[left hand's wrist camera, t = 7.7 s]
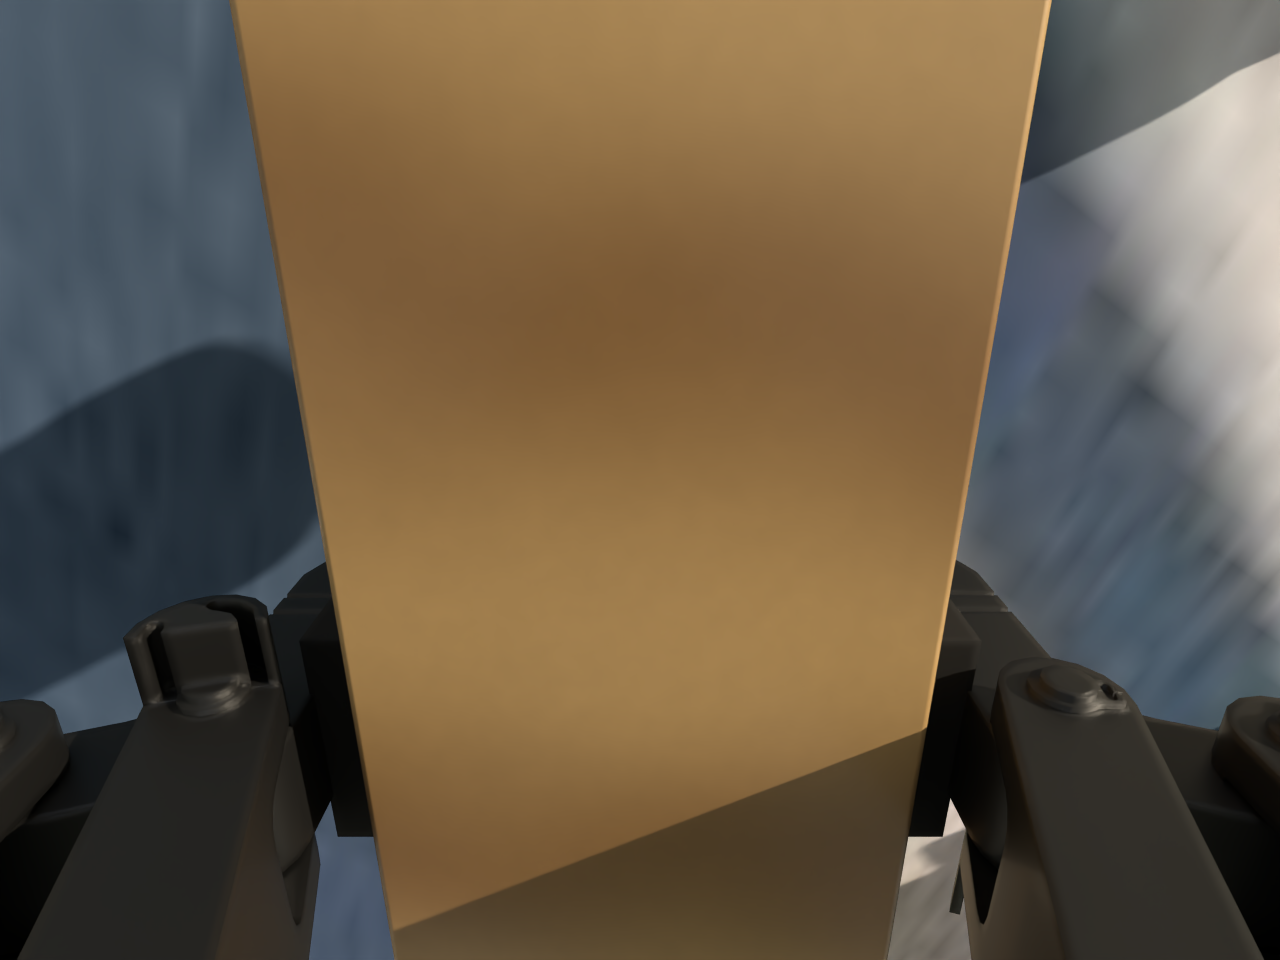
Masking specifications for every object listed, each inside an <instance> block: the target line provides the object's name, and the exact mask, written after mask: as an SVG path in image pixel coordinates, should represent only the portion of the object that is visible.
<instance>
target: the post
mask: <svg viewBox="0 0 1280 960" xmlns="http://www.w3.org/2000/svg"><path fill="white" fill-rule="evenodd" d="M1051 1H1052V0H229V2H230V7H231V13H232V19H233V25H234V31H235V36H236V42H237V48H238V54H239V60H240V65H241V71H242V77H243V83H244V89H245V94H246V100H247V106H248V112H249V118H250V123H251V129H252V135H253V141H254V147H255V152H256V158H257V164H258V170H259V176H260V181H261V187H262V193H263V199H264V205H265V210H266V216H267V222H268V228H269V234H270V239H271V245H272V251H273V257H274V263H275V268H276V274H277V280H278V286H279V292H280V297H281V303H282V309H283V315H284V321H285V326H286V332H287V338H288V344H289V350H290V355H291V361H292V367H293V373H294V379H295V384H296V390H297V396H298V402H299V408H300V413H301V419H302V425H303V431H304V437H305V442H306V448H307V454H308V460H309V466H310V471H311V477H312V483H313V489H314V495H315V500H316V506H317V512H318V518H319V524H320V529H321V535H322V541H323V547H324V553H325V558H326V564H327V570H328V576H329V582H330V587H331V593H332V599H333V605H334V610H335V616H336V622H337V628H338V634H339V639H340V645H341V651H342V657H343V663H344V668H345V674H346V680H347V686H348V692H349V697H350V703H351V709H352V715H353V721H354V726H355V732H356V738H357V744H358V750H359V755H360V761H361V767H362V773H363V779H364V784H365V790H366V796H367V802H368V808H369V813H370V819H371V825H372V831H373V837H374V842H375V848H376V854H377V860H378V866H379V871H380V877H381V883H382V889H383V895H384V900H385V906H386V912H387V918H388V924H389V929H390V935H391V941H392V947H393V953H394V958H395V960H887V957H888V951H889V946H890V940H891V934H892V928H893V922H894V916H895V911H896V905H897V899H898V893H899V887H900V881H901V876H902V870H903V864H904V858H905V852H906V846H907V841H908V835H909V829H910V823H911V817H912V811H913V806H914V800H915V794H916V788H917V782H918V776H919V771H920V765H921V759H922V753H923V747H924V741H925V736H926V730H927V724H928V718H929V712H930V706H931V701H932V695H933V689H934V683H935V677H936V671H937V666H938V660H939V654H940V648H941V642H942V636H943V631H944V625H945V619H946V613H947V607H948V601H949V596H950V590H951V584H952V578H953V572H954V566H955V561H956V555H957V549H958V543H959V537H960V531H961V526H962V520H963V514H964V508H965V502H966V497H967V491H968V485H969V479H970V473H971V467H972V462H973V456H974V450H975V444H976V438H977V432H978V427H979V421H980V415H981V409H982V403H983V397H984V392H985V386H986V380H987V374H988V368H989V362H990V357H991V351H992V345H993V339H994V333H995V327H996V322H997V316H998V310H999V304H1000V298H1001V292H1002V287H1003V281H1004V275H1005V269H1006V263H1007V257H1008V252H1009V246H1010V240H1011V234H1012V228H1013V222H1014V217H1015V211H1016V205H1017V199H1018V193H1019V187H1020V182H1021V176H1022V170H1023V164H1024V158H1025V152H1026V147H1027V141H1028V135H1029V129H1030V123H1031V117H1032V112H1033V106H1034V100H1035V94H1036V88H1037V82H1038V77H1039V71H1040V65H1041V59H1042V53H1043V47H1044V42H1045V36H1046V30H1047V24H1048V18H1049V12H1050V7H1051Z"/></svg>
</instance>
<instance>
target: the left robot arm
mask: <svg viewBox="0 0 1280 960" xmlns="http://www.w3.org/2000/svg"><path fill="white" fill-rule="evenodd" d="M273 612H274V613H273V615H269V616H268V611H267V606H266V605H264V604H263V603H261V602H260V601H259V600H257V599H256V598H252V597H246V596H241V595H216V596H208V597H203V598H199V599H194V600H189V601H185V602H182V603H179V604H176V605H174V606H171V607H168V608H166V609H163V610H160V611H158V612H156V613H155V614H153V615H151V616H149V617H148V618H146V619H144V620H143V621H141V622H139V623H137V624H136V625H135V626H134V627H133V628H132V629H131V630H130V631H129V632H128V633H127V634H126V635H125V636H124V638H123V640H124V643H125V646H126V650H127V653H128V656H129V660H130V663H131V666H132V670H133V673H134V676H135V680H136V683H137V686H138V690H139V693H140V696H141V700H142V703H143V708H142V710H141V712H140V714H139V716H138V718H137V719H135V720H131V721H127V722H122V723H117V724H112V725H107V726H102V727H97V728H92V729H87V730H82V731H77V732H72V733H67V734H63V732H62V729H61V726H60V723H59V720H58V718H57V715H56V712H55V710H54V709H53V708H51V707H50V706H49V705H47V704H46V703H44V702H43V701H34V700H25V699H19V700H11V701H4V702H0V960H309V953H310V945H311V937H312V928H313V920H314V912H315V904H316V896H317V887H318V879H319V871H320V858H319V852H318V846H317V841H316V837H315V831H316V829H317V827H318V825H319V823H320V821H321V819H322V817H323V815H324V813H325V811H326V809H327V807H328V805H329V803H330V801H331V805H332V810H333V815H334V820H335V825H336V830H337V835H338V837H373V831H372V825H371V819H370V813H369V808H368V802H367V796H366V790H365V784H364V779H363V773H362V767H361V761H360V755H359V750H358V744H357V738H356V732H355V726H354V721H353V715H352V709H351V703H350V697H349V692H348V686H347V680H346V674H345V668H344V663H343V657H342V651H341V645H340V639H339V634H338V628H337V622H336V616H335V610H334V605H333V599H332V593H331V587H330V582H329V576H328V570H327V564H326V562H325V563H323V564H321V565H319V566H318V567H316V568H314V569H313V570H311V571H309V572H308V573H306V574H304V575H303V576H302V578H301V579H300V580H299V581H298V582H297V583H296V585H295V586H294V587H293V588H292V589H291V590H290V592H289V593H288V594H287V598H284V599H283V600H282V601H281V602H280V603H279V604H278V606H277V607H276V608H275V609H274V610H273ZM950 798H951V800H952V802H953V804H954V806H955V808H956V810H957V812H958V814H959V816H960V818H961V820H962V822H963V824H964V826H965V828H966V832H965V837H964V841H963V846H962V851H961V855H960V860H959V865H958V869H957V874H956V879H955V884H954V888H953V893H952V898H951V905H950V911H949V912H951V913H955V914H959V915H960V911H961V907H962V902H963V898H964V902H965V910H966V918H967V926H968V934H969V943H970V951H971V959H972V960H1280V698H1273V697H1266V696H1254V697H1245V698H1238V699H1237V700H1236V701H1234V702H1233V703H1231V704H1230V705H1228V706H1227V708H1226V711H1225V714H1224V717H1223V719H1222V722H1221V725H1220V728H1219V731H1216V730H1211V729H1206V728H1200V727H1195V726H1190V725H1185V724H1180V723H1175V722H1170V721H1165V720H1160V719H1155V718H1151V717H1147V716H1143V715H1142V714H1141V712H1140V710H1139V708H1138V706H1137V705H1136V703H1135V702H1134V701H1133V700H1132V698H1131V697H1130V696H1129V695H1128V693H1127V692H1126V691H1125V690H1124V689H1123V688H1121V687H1120V686H1119V685H1117V684H1116V683H1114V682H1113V681H1111V680H1110V679H1108V678H1107V677H1105V676H1104V675H1102V674H1100V673H1097V672H1095V671H1093V670H1090V669H1088V668H1086V667H1083V666H1081V665H1079V664H1075V663H1071V662H1067V661H1062V660H1058V659H1054V658H1051V657H1050V656H1049V655H1048V654H1047V652H1046V651H1045V650H1044V649H1043V648H1042V647H1041V646H1040V644H1039V643H1038V642H1037V641H1036V640H1035V639H1034V637H1033V636H1032V635H1031V634H1030V633H1029V632H1028V631H1027V629H1026V628H1025V627H1024V626H1023V625H1022V624H1021V622H1020V621H1019V620H1018V619H1017V618H1016V617H1015V616H1014V614H1013V613H1012V612H1008V607H1007V606H1006V605H1005V604H1004V603H1003V602H1002V601H1001V599H1000V598H999V597H998V596H997V595H994V591H993V590H992V589H991V588H990V587H989V586H988V584H987V583H986V582H985V581H984V580H983V579H982V577H981V576H980V575H979V574H978V573H977V572H976V571H974V570H972V569H971V568H969V567H967V566H966V565H964V564H962V563H961V562H959V561H957V560H956V561H955V566H954V572H953V578H952V584H951V590H950V596H949V601H948V607H947V613H946V619H945V625H944V631H943V636H942V642H941V648H940V654H939V660H938V666H937V671H936V677H935V683H934V689H933V695H932V701H931V706H930V712H929V718H928V724H927V730H926V736H925V741H924V747H923V753H922V759H921V765H920V771H919V776H918V782H917V788H916V794H915V800H914V806H913V811H912V817H911V823H910V829H909V835H908V837H943V832H944V827H945V822H946V817H947V812H948V807H949V802H950Z"/></svg>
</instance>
